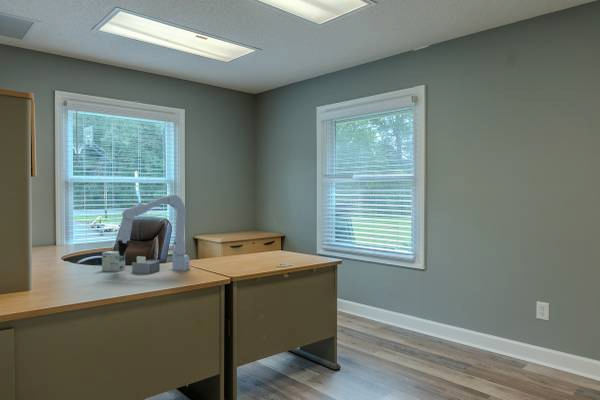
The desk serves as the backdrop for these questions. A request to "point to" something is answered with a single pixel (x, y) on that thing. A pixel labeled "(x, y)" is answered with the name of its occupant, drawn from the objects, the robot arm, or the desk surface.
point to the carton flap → (141, 266)
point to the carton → (154, 266)
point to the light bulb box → (112, 261)
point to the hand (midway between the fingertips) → (121, 254)
